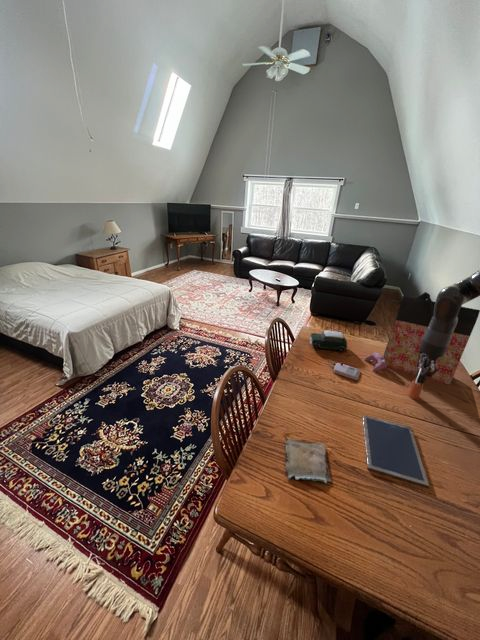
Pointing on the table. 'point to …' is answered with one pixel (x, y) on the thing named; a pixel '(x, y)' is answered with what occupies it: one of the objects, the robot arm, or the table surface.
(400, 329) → the gift bag
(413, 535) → the table surface
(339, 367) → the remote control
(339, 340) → the miniature car
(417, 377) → the stylus
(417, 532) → the table surface
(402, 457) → the tablet
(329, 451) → the table surface
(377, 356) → the video game controller
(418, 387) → the pen cup
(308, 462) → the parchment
